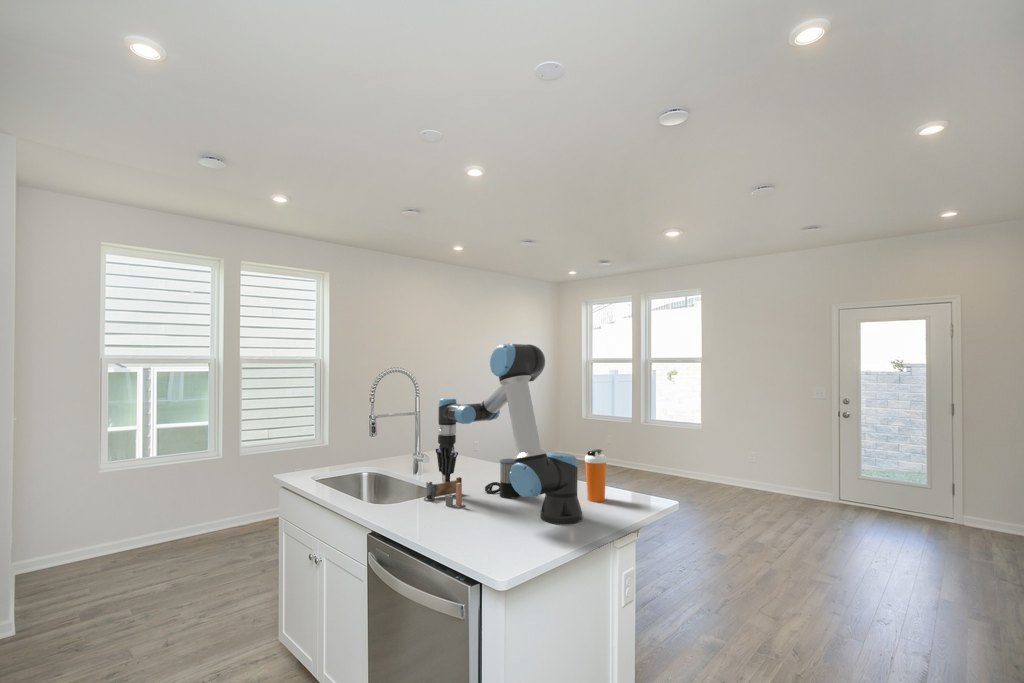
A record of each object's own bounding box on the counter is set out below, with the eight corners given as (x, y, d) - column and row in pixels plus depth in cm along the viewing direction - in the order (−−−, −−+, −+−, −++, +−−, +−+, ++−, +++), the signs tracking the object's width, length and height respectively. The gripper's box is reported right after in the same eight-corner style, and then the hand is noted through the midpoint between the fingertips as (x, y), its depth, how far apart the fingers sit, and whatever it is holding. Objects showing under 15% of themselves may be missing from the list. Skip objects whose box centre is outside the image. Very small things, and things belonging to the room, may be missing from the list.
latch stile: (465, 506, 195) (465, 483, 195) (458, 508, 191) (458, 485, 192) (452, 503, 199) (452, 480, 199) (445, 505, 195) (445, 482, 196)
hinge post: (436, 499, 205) (436, 482, 205) (429, 501, 201) (429, 484, 201) (429, 497, 207) (429, 480, 207) (421, 499, 204) (421, 482, 204)
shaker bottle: (610, 498, 205) (609, 450, 206) (602, 503, 198) (601, 453, 199) (590, 495, 210) (589, 448, 211) (581, 500, 203) (581, 451, 203)
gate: (434, 497, 205) (434, 482, 205) (431, 496, 206) (432, 481, 206) (461, 491, 213) (461, 477, 213) (459, 491, 214) (459, 477, 215)
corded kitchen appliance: (521, 498, 206) (521, 462, 206) (483, 498, 206) (483, 462, 206) (521, 490, 220) (520, 456, 220) (485, 489, 220) (485, 456, 221)
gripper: (430, 433, 215) (429, 488, 214) (449, 436, 206) (448, 494, 205) (444, 431, 220) (443, 485, 219) (463, 435, 211) (462, 491, 210)
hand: (445, 489), depth 212 cm, fingers closed
